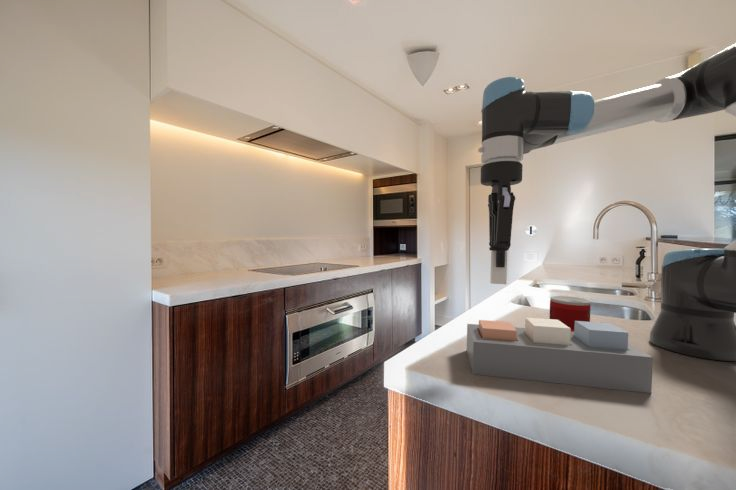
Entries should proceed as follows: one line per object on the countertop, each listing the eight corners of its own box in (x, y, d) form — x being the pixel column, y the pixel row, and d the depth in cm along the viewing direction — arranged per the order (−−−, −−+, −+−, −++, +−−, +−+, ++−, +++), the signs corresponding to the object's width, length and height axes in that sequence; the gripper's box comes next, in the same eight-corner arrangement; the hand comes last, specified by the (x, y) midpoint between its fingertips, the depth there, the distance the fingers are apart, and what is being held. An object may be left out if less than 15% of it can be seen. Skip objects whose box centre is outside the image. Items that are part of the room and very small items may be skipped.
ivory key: (557, 344, 61) (557, 319, 61) (569, 355, 56) (570, 328, 55) (524, 341, 63) (525, 317, 63) (533, 352, 57) (534, 325, 57)
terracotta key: (508, 345, 63) (509, 322, 63) (515, 357, 58) (516, 330, 57) (478, 343, 65) (478, 319, 65) (482, 353, 59) (482, 328, 59)
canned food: (595, 352, 68) (597, 303, 68) (556, 349, 70) (557, 301, 69) (579, 341, 76) (580, 296, 75) (544, 338, 77) (545, 295, 77)
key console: (610, 363, 62) (612, 334, 62) (651, 393, 50) (652, 357, 50) (466, 350, 68) (467, 323, 68) (472, 373, 57) (473, 341, 56)
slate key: (608, 348, 59) (609, 323, 59) (627, 360, 54) (628, 332, 53) (573, 345, 61) (574, 320, 61) (588, 357, 55) (589, 329, 55)
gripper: (476, 171, 67) (474, 278, 68) (486, 156, 55) (483, 287, 55) (513, 170, 66) (510, 279, 66) (532, 154, 53) (528, 289, 54)
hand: (498, 283), depth 61 cm, fingers closed
